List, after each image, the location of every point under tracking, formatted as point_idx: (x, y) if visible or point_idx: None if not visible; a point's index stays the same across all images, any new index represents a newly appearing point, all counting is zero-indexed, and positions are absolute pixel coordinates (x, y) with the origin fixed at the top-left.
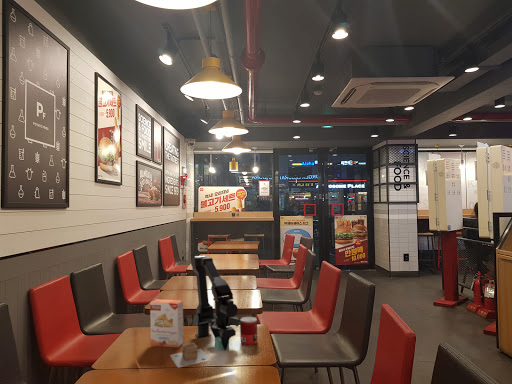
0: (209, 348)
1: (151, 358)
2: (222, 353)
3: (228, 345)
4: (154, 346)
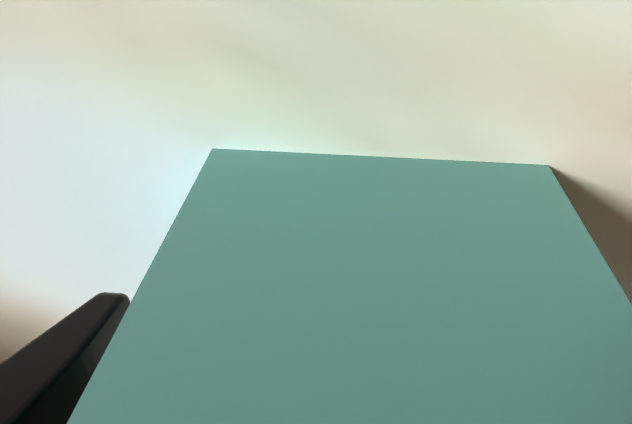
0: None
1: None
2: None
3: (590, 277)
4: None
